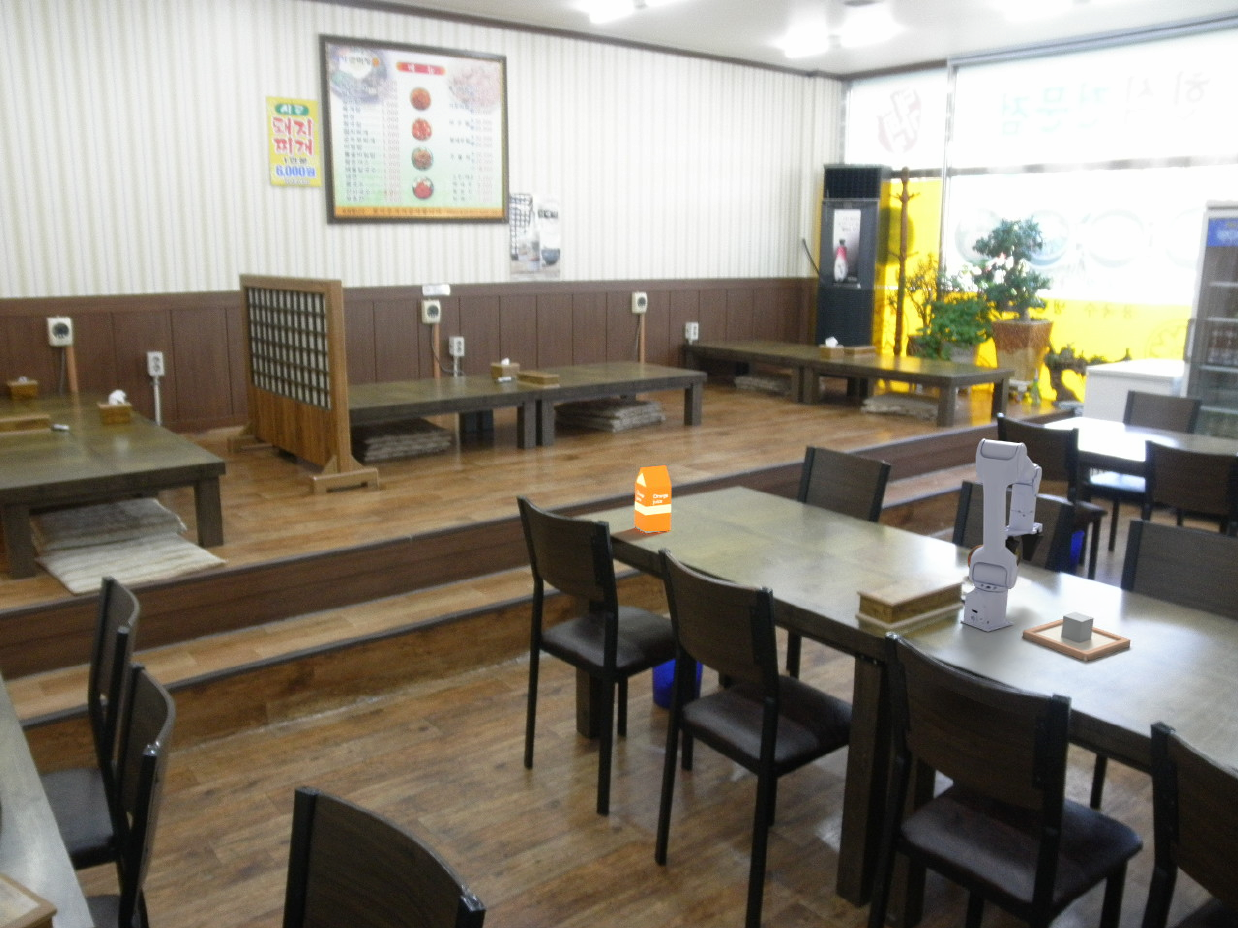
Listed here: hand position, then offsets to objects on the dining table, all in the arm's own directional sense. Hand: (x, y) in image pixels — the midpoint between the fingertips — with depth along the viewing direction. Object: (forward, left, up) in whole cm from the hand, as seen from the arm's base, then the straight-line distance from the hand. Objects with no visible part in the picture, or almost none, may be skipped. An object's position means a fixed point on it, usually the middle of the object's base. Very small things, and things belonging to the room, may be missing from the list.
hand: (1017, 562), depth 259 cm
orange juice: (-43, +99, -10) cm, 108 cm away
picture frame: (-13, -26, -9) cm, 31 cm away
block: (-13, -26, -8) cm, 30 cm away
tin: (+12, +16, -10) cm, 22 cm away
